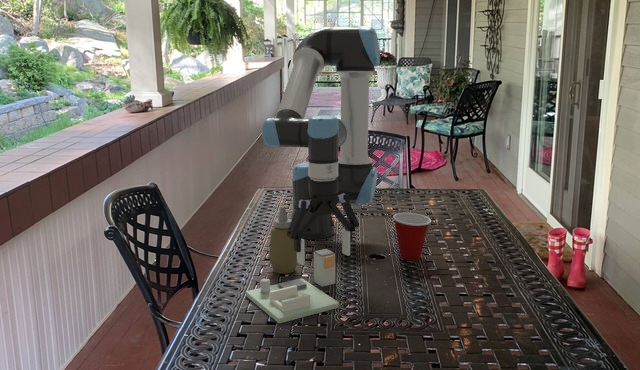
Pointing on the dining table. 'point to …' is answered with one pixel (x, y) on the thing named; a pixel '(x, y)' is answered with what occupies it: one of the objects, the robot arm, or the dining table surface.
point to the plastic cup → (411, 234)
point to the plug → (324, 267)
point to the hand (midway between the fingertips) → (323, 258)
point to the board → (290, 299)
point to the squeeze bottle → (282, 246)
